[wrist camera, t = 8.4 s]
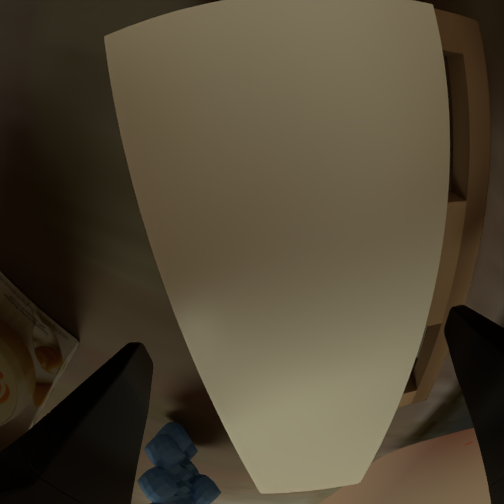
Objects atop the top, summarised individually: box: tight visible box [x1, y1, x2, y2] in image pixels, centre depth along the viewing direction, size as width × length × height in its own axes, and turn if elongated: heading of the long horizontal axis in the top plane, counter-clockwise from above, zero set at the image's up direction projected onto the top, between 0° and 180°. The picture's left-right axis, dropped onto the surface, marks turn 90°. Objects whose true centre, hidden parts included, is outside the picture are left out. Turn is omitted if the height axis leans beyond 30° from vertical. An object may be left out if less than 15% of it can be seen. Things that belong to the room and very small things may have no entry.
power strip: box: [104, 0, 450, 494], centre depth 9 cm, size 4×14×7 cm, turn 9°
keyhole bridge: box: [397, 9, 491, 408], centre depth 12 cm, size 11×18×5 cm, turn 9°
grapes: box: [138, 422, 221, 504], centre depth 19 cm, size 12×7×12 cm, turn 1°
